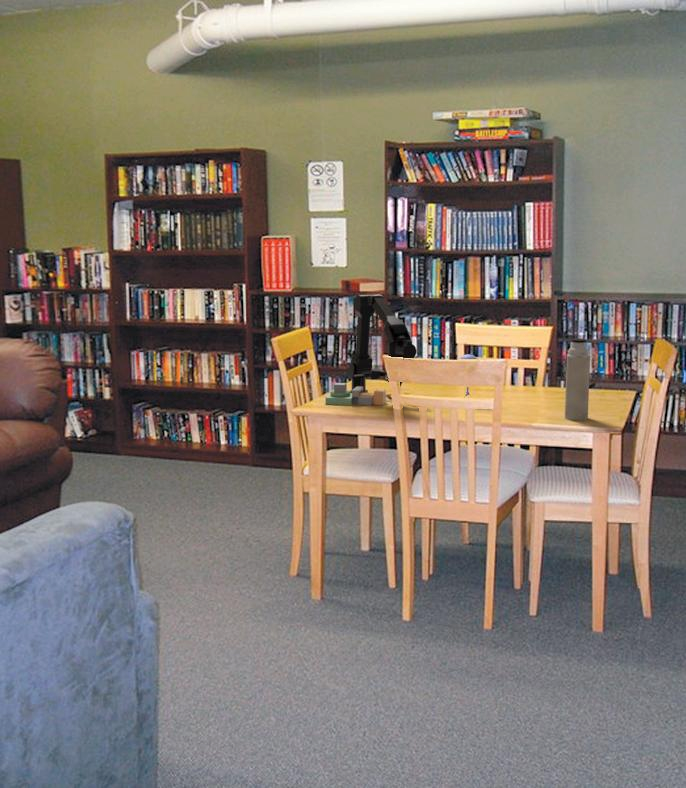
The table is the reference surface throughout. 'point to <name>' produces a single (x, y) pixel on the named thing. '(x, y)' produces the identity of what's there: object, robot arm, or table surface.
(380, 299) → the robot arm
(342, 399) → the deck
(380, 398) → the chute
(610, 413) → the table surface
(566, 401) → the thermos bottle
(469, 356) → the baby rattle
